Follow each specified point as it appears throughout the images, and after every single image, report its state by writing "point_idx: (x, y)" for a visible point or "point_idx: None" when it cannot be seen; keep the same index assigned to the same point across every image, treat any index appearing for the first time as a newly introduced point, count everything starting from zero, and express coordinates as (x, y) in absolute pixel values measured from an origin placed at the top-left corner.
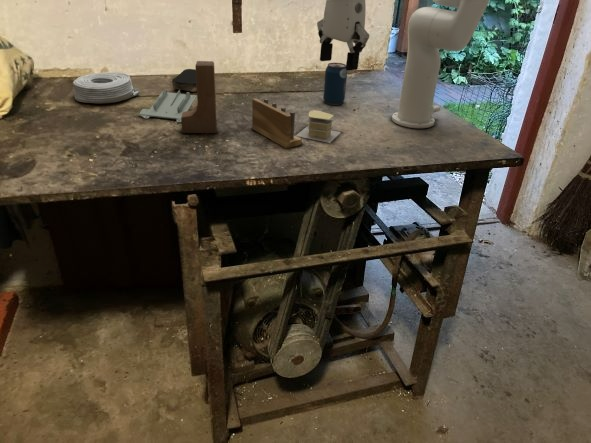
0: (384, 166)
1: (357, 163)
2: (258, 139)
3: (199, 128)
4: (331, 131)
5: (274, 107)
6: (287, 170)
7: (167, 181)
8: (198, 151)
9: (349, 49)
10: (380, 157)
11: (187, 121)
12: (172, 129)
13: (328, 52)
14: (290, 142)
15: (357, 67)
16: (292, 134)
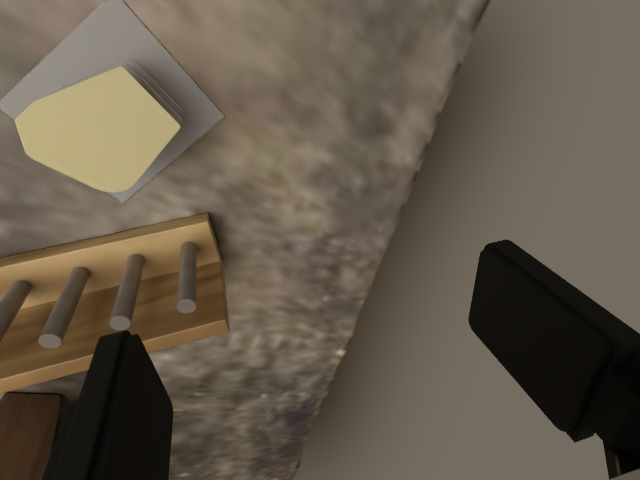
0: (455, 47)
1: (396, 117)
2: None
3: (52, 436)
4: (94, 34)
5: None
6: (343, 293)
7: (292, 449)
8: (180, 421)
9: (611, 463)
10: (403, 7)
11: (42, 474)
12: None
13: (143, 435)
14: (219, 258)
15: (514, 246)
16: (196, 256)
